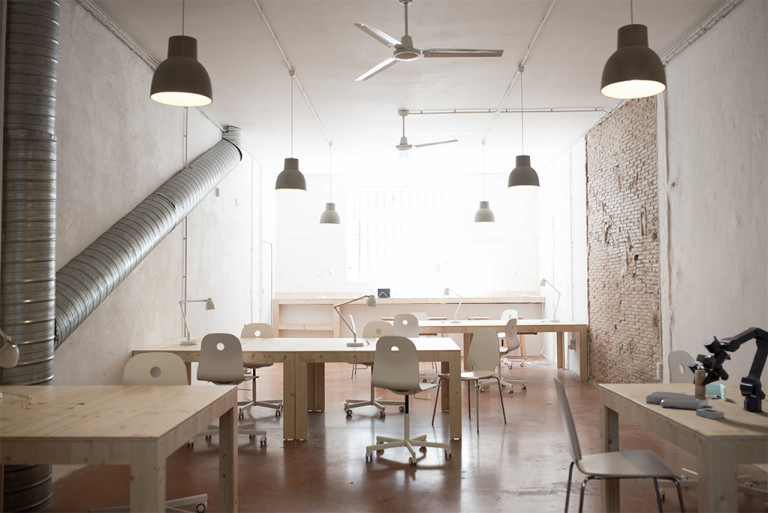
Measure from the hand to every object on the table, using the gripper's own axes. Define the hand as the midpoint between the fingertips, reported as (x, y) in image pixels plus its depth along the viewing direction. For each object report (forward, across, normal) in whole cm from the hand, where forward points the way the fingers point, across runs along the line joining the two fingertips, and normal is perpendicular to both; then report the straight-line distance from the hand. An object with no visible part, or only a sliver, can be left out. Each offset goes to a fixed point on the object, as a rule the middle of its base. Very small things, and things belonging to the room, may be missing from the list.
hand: (698, 384), depth 273 cm
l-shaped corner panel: (-18, -30, +38) cm, 52 cm away
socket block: (+8, +5, +11) cm, 14 cm away
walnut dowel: (+4, 0, +6) cm, 7 cm away
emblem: (+5, -20, +15) cm, 26 cm away
